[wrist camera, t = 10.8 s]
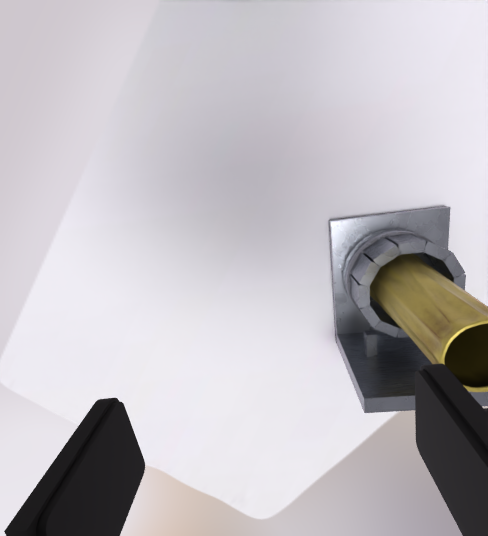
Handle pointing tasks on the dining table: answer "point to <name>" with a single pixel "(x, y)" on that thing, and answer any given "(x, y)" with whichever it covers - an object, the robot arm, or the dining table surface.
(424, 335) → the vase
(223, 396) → the dining table surface
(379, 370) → the cup bracket
